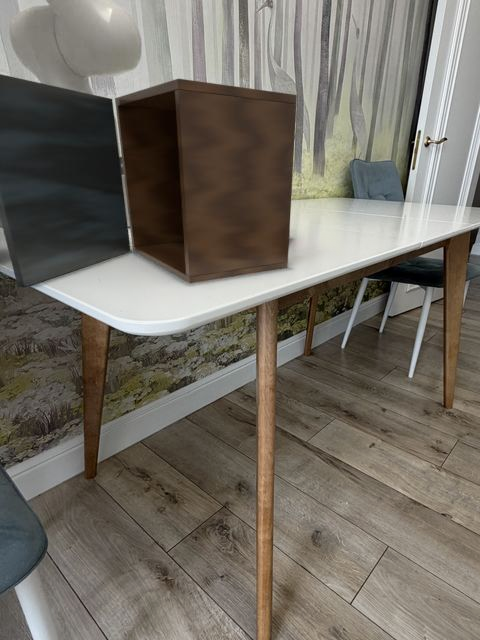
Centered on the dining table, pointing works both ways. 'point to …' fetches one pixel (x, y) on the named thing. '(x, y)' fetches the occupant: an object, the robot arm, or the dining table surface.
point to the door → (58, 180)
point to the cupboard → (208, 177)
